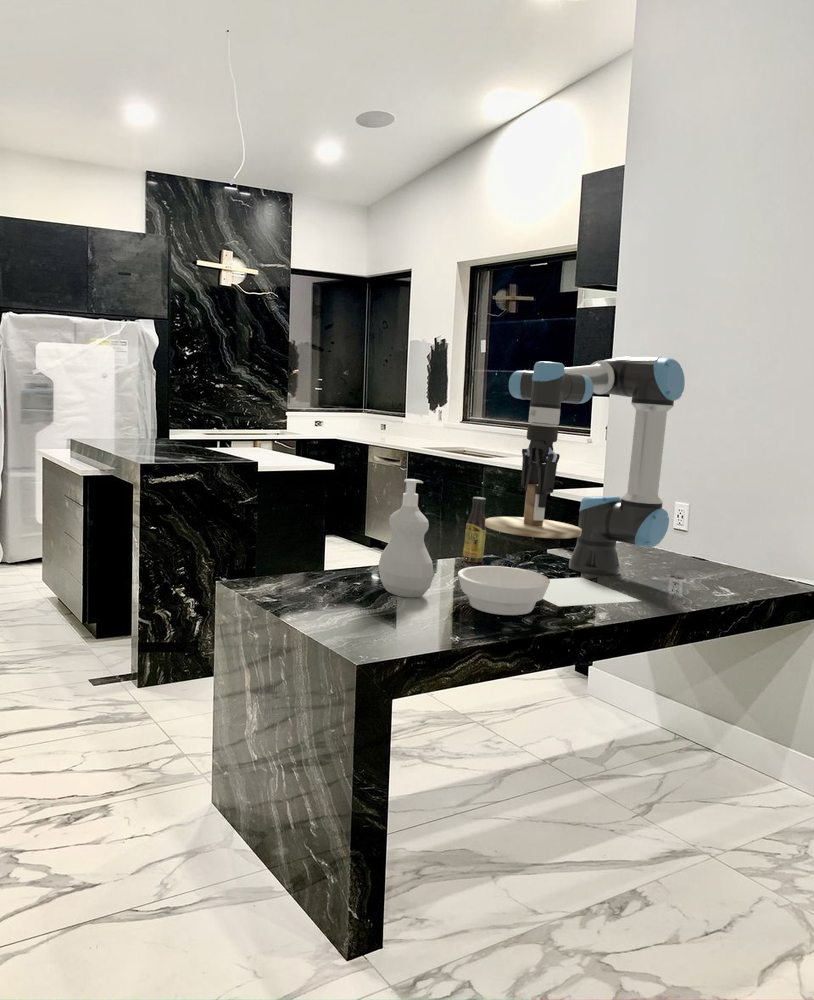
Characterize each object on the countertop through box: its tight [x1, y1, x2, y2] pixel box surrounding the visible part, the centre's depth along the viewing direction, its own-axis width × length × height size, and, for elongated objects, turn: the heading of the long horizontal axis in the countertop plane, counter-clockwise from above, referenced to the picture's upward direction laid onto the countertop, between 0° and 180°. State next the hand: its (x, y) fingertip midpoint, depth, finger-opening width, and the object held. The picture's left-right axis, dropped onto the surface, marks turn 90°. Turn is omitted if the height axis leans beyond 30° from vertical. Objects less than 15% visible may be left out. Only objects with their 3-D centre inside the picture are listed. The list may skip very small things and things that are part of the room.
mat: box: [542, 577, 641, 608], centre depth 232 cm, size 26×26×1 cm
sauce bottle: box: [462, 496, 487, 564], centre depth 263 cm, size 7×6×20 cm
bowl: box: [457, 565, 550, 616], centre depth 211 cm, size 22×22×8 cm
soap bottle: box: [378, 478, 435, 598], centre depth 218 cm, size 17×12×29 cm
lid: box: [485, 483, 582, 539], centre depth 215 cm, size 24×24×11 cm
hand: (533, 518), depth 216 cm, fingers closed on lid, 3 cm apart
